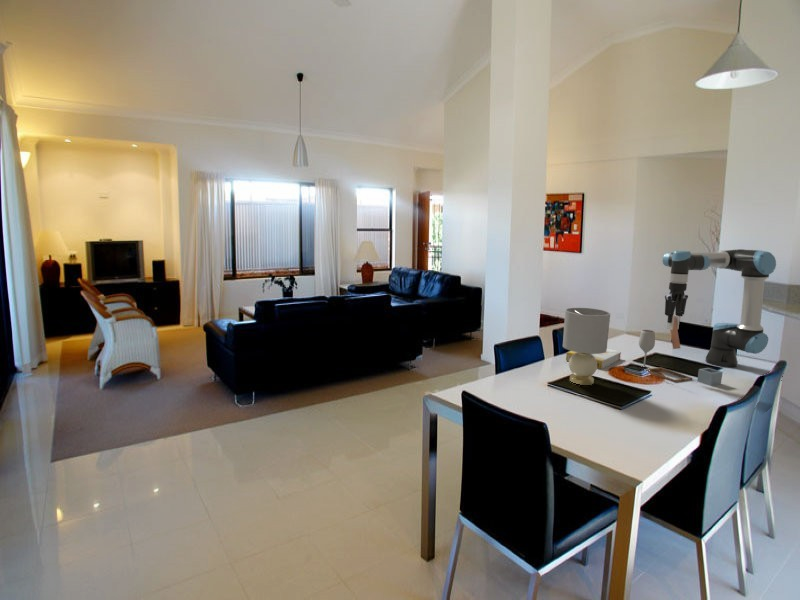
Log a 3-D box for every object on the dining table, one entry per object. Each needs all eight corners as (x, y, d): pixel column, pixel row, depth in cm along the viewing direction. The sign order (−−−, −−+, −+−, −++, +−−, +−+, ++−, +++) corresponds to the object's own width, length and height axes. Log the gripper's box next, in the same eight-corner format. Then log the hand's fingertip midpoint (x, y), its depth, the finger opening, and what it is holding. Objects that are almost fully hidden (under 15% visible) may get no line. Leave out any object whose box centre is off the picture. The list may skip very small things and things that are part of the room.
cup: (706, 382, 242) (708, 367, 241) (720, 386, 236) (722, 372, 234) (696, 383, 239) (698, 369, 238) (710, 388, 233) (712, 373, 232)
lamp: (609, 382, 239) (616, 311, 233) (593, 392, 224) (600, 317, 218) (570, 372, 252) (575, 306, 246) (552, 381, 238) (558, 311, 232)
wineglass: (653, 371, 257) (658, 333, 254) (638, 370, 259) (642, 332, 255) (649, 367, 265) (653, 329, 261) (634, 366, 266) (638, 328, 262)
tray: (660, 371, 258) (660, 367, 258) (691, 382, 242) (692, 377, 241) (643, 373, 254) (643, 369, 253) (674, 384, 237) (674, 380, 237)
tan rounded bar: (681, 349, 241) (685, 317, 238) (677, 350, 240) (680, 318, 237) (668, 346, 248) (671, 314, 245) (663, 346, 247) (666, 315, 244)
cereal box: (566, 352, 272) (586, 343, 293) (565, 361, 273) (585, 352, 294) (602, 360, 259) (621, 350, 279) (601, 370, 260) (620, 360, 280)
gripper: (683, 280, 246) (677, 326, 250) (659, 281, 240) (654, 328, 244) (696, 282, 239) (691, 329, 243) (673, 283, 233) (667, 331, 237)
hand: (672, 328), depth 243 cm, fingers closed on tan rounded bar, 3 cm apart
